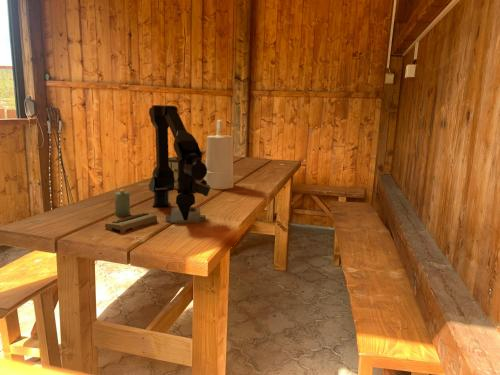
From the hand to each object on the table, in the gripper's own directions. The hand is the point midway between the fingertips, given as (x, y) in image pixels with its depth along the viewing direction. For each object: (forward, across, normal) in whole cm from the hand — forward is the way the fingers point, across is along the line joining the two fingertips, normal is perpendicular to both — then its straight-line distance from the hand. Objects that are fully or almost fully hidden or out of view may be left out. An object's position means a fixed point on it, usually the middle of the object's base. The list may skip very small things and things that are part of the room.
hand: (185, 217), depth 138 cm
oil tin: (+1, +8, +23) cm, 24 cm away
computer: (+2, -5, +18) cm, 19 cm away
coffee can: (+1, +58, +5) cm, 58 cm away
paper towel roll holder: (+1, +60, -16) cm, 62 cm away
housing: (+1, 0, 0) cm, 1 cm away
